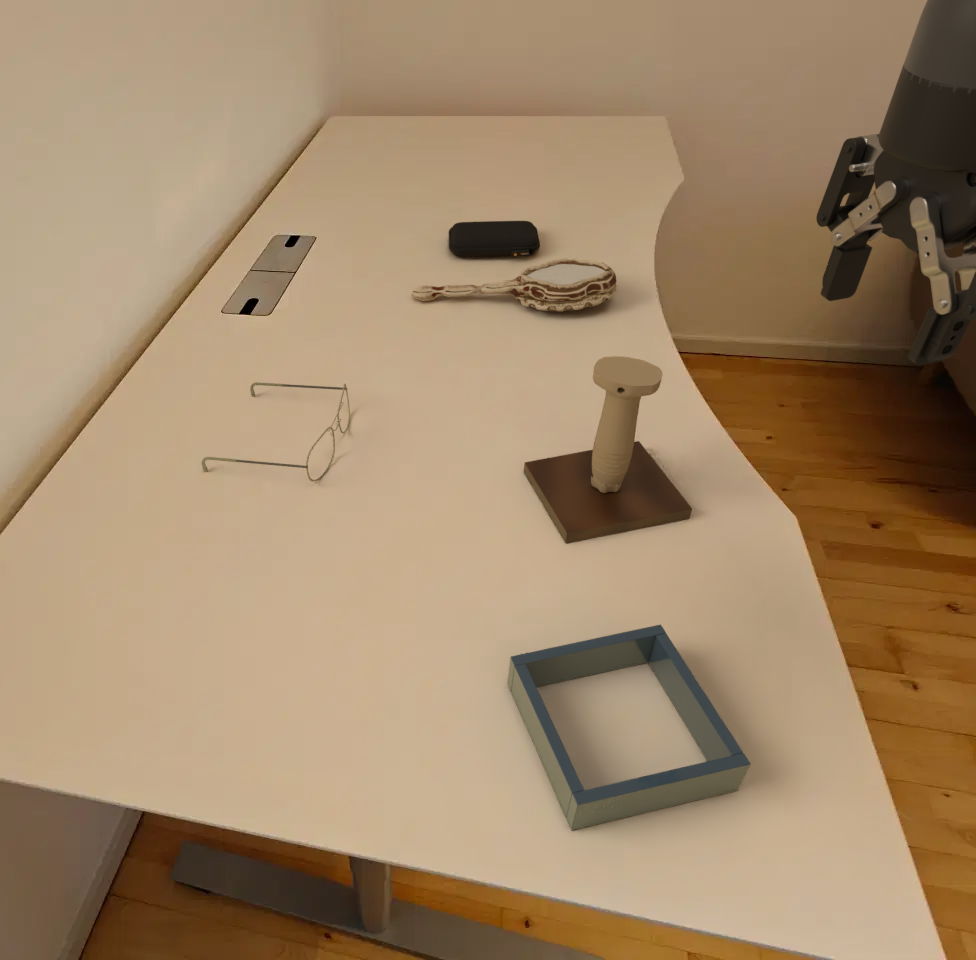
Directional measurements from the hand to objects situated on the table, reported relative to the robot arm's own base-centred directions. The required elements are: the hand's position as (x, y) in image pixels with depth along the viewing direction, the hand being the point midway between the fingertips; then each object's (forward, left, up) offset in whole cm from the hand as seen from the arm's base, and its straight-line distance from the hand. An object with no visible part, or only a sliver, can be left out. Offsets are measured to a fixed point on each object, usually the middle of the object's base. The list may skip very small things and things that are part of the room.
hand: (877, 326), depth 55 cm
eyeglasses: (+37, -42, -33) cm, 65 cm away
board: (+4, -22, -33) cm, 40 cm away
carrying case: (-5, -83, -33) cm, 90 cm away
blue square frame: (+16, +6, -33) cm, 37 cm away
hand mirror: (-2, -66, -33) cm, 74 cm away
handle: (+4, -22, -32) cm, 39 cm away
